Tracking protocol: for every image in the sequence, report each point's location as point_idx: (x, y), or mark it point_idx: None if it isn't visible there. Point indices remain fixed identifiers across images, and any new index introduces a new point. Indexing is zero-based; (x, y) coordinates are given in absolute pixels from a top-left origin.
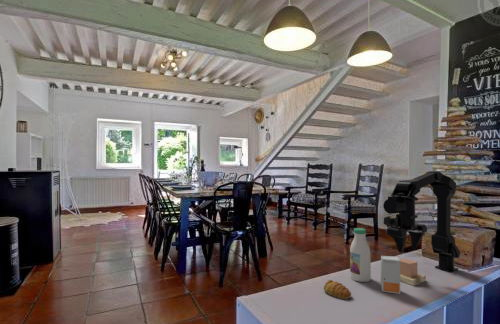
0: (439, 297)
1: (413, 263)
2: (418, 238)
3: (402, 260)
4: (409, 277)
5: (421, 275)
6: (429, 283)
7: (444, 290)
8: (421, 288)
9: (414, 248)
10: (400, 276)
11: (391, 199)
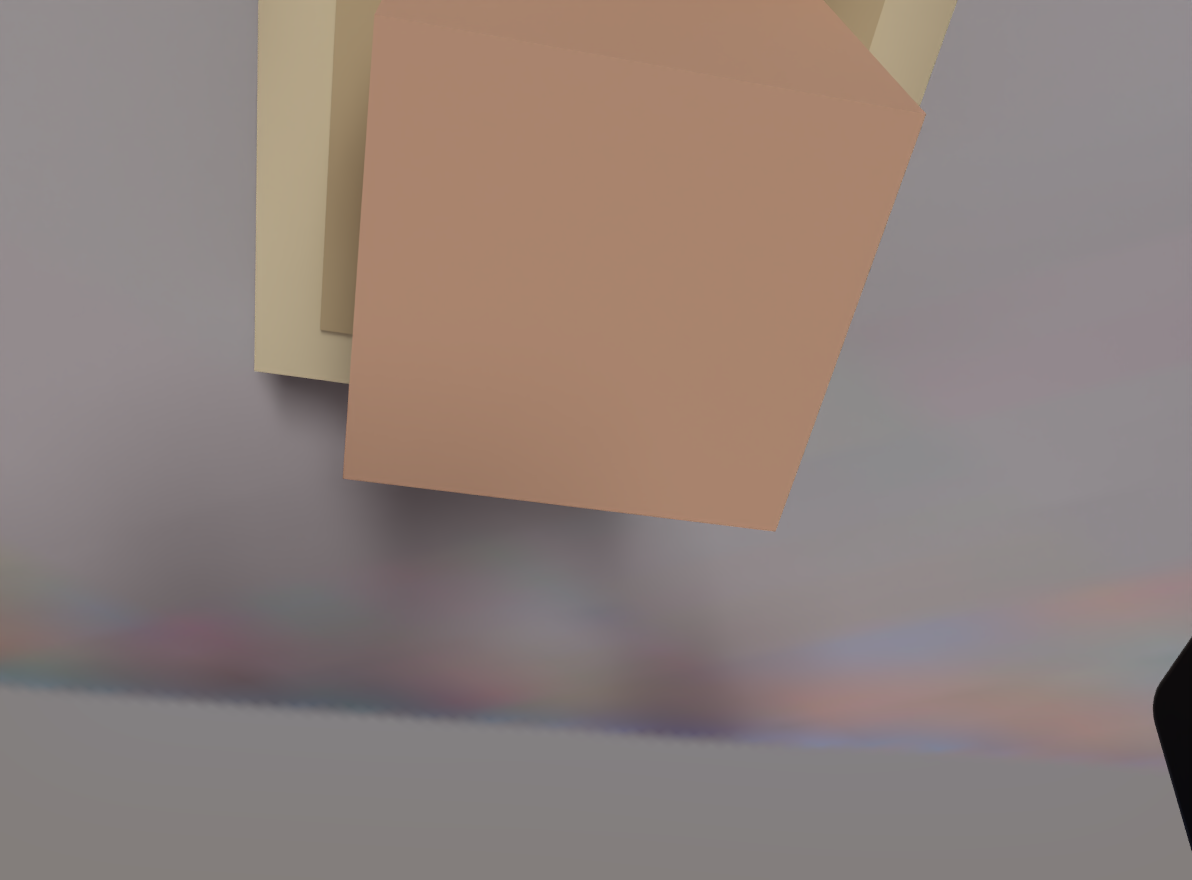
0: (197, 694)
1: (547, 493)
2: None
3: (527, 159)
4: (344, 274)
5: None
6: None
7: (544, 668)
8: (299, 450)
9: (1186, 738)
10: (263, 61)
11: None
